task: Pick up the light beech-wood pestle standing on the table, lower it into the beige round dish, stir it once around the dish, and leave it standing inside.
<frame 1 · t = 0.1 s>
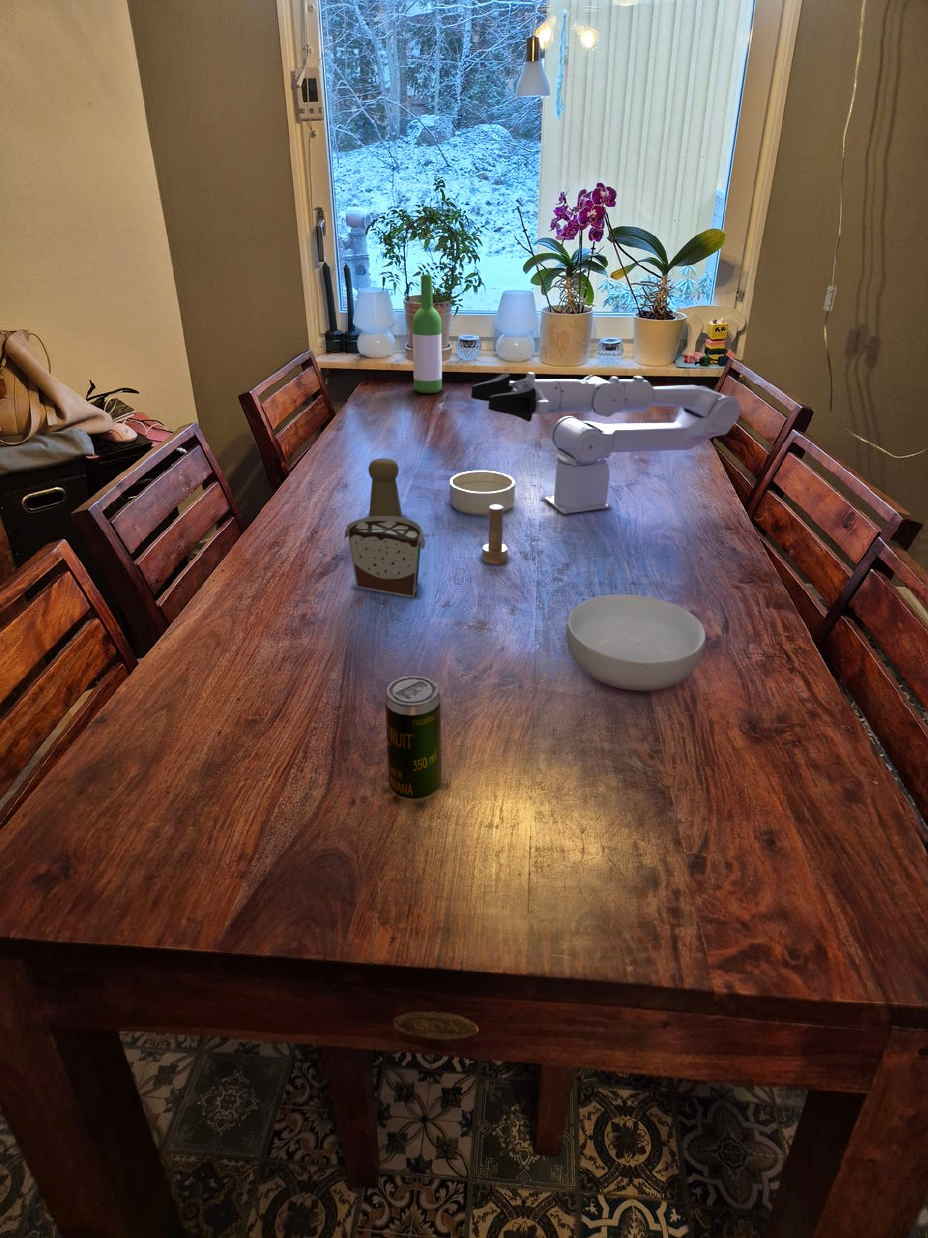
hand: (480, 397, 136), 22 cm above the table, tool horizontal, fingers open, 7 cm apart
green soda can: (415, 788, 84), on the table
cereal bowl: (629, 674, 103), on the table
wine bottle: (427, 391, 228), on the table
food container: (393, 585, 124), on the table
pestle: (494, 558, 132), on the table
cork: (385, 520, 146), on the table
beige round dish: (481, 504, 153), on the table
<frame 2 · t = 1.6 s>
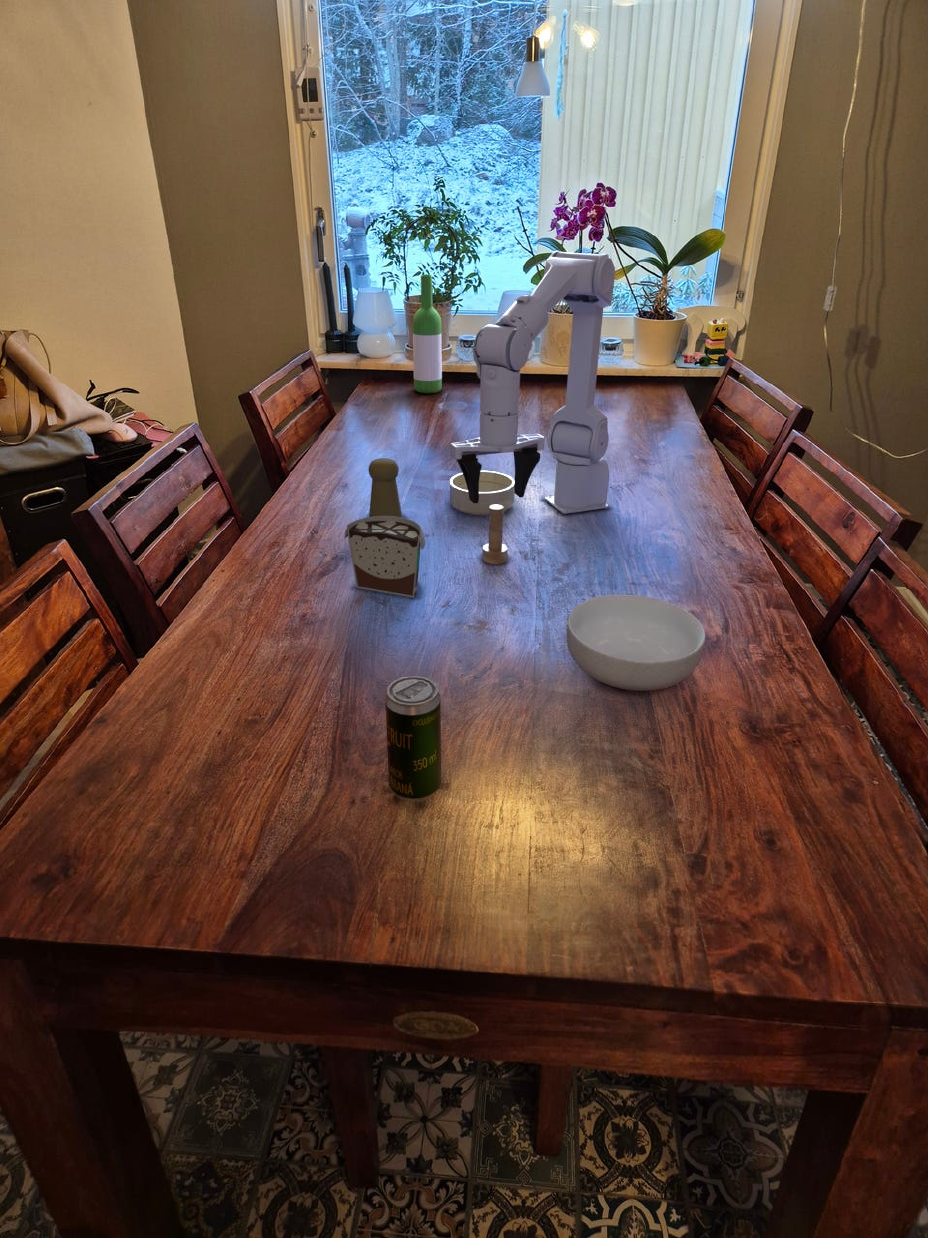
hand: (496, 498, 127), 10 cm above the table, tool pointing down, fingers open, 7 cm apart
nothing on the table moved.
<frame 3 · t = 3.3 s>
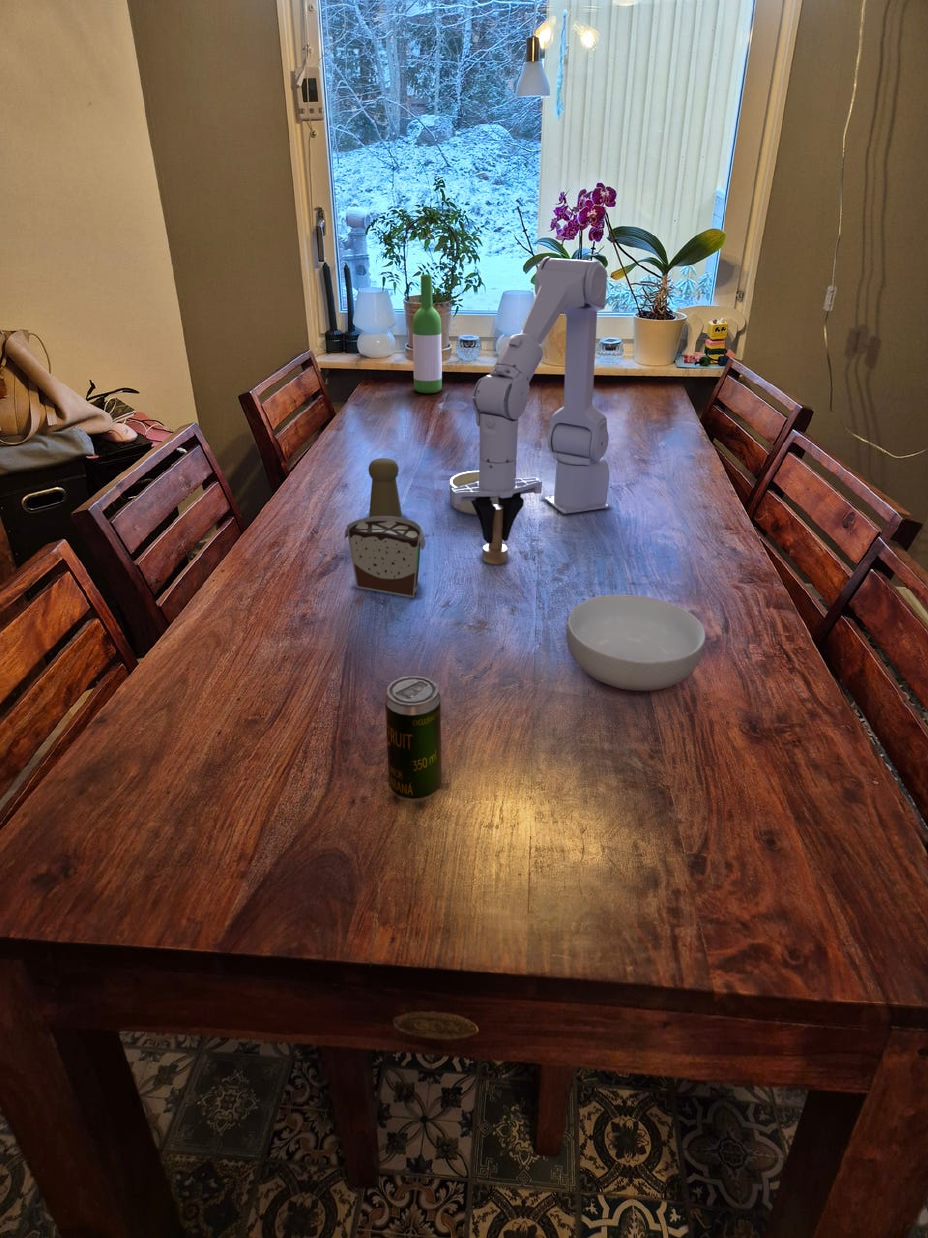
hand: (495, 539, 130), 3 cm above the table, tool pointing down, fingers closed on pestle, 2 cm apart
pestle: (494, 558, 132), on the table, touching gripper
everything else where it was.
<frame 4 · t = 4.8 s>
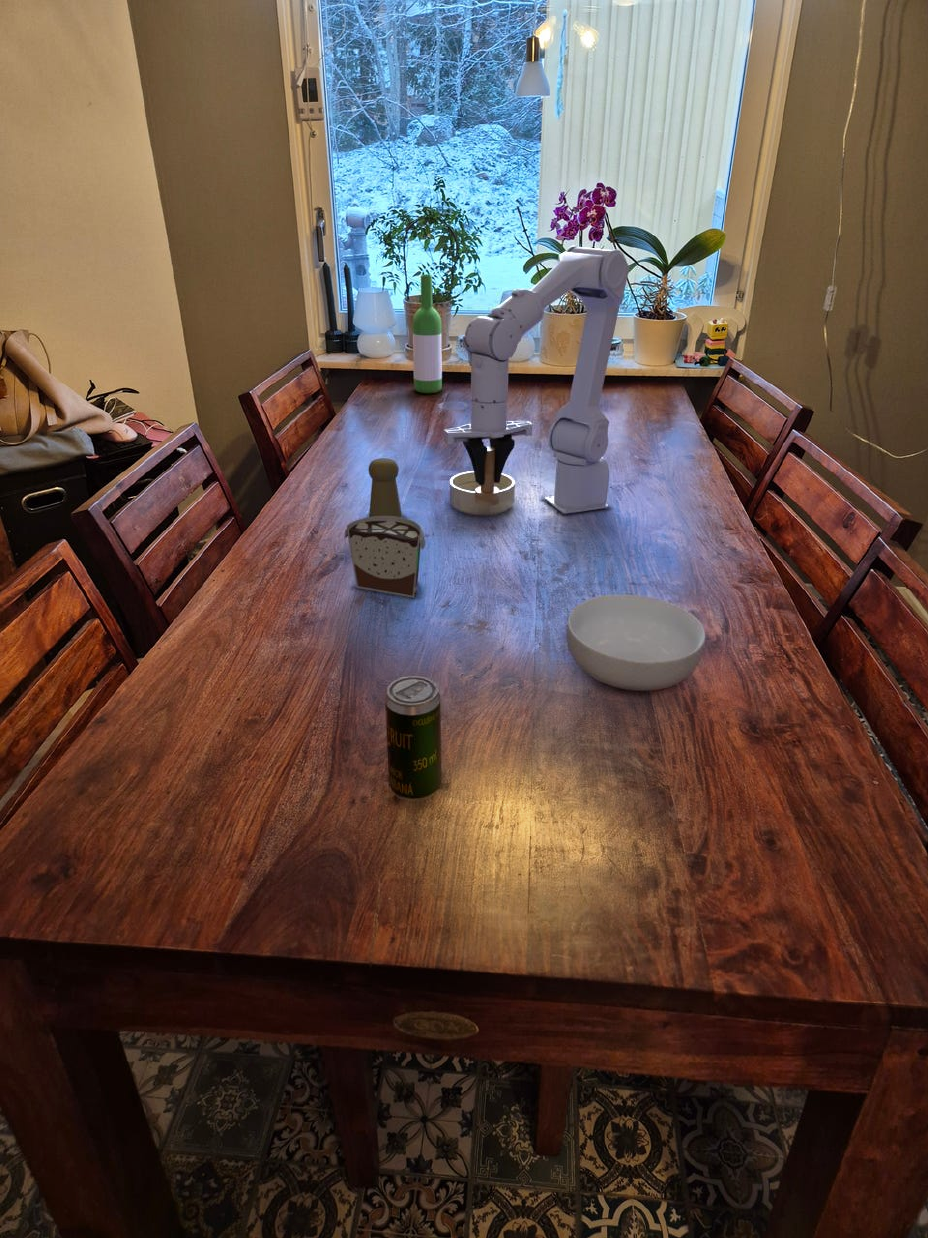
hand: (487, 481, 134), 10 cm above the table, tool pointing down, fingers closed on pestle, 2 cm apart
pestle: (487, 501, 135), point 7 cm above the table, touching gripper
everything else where it was.
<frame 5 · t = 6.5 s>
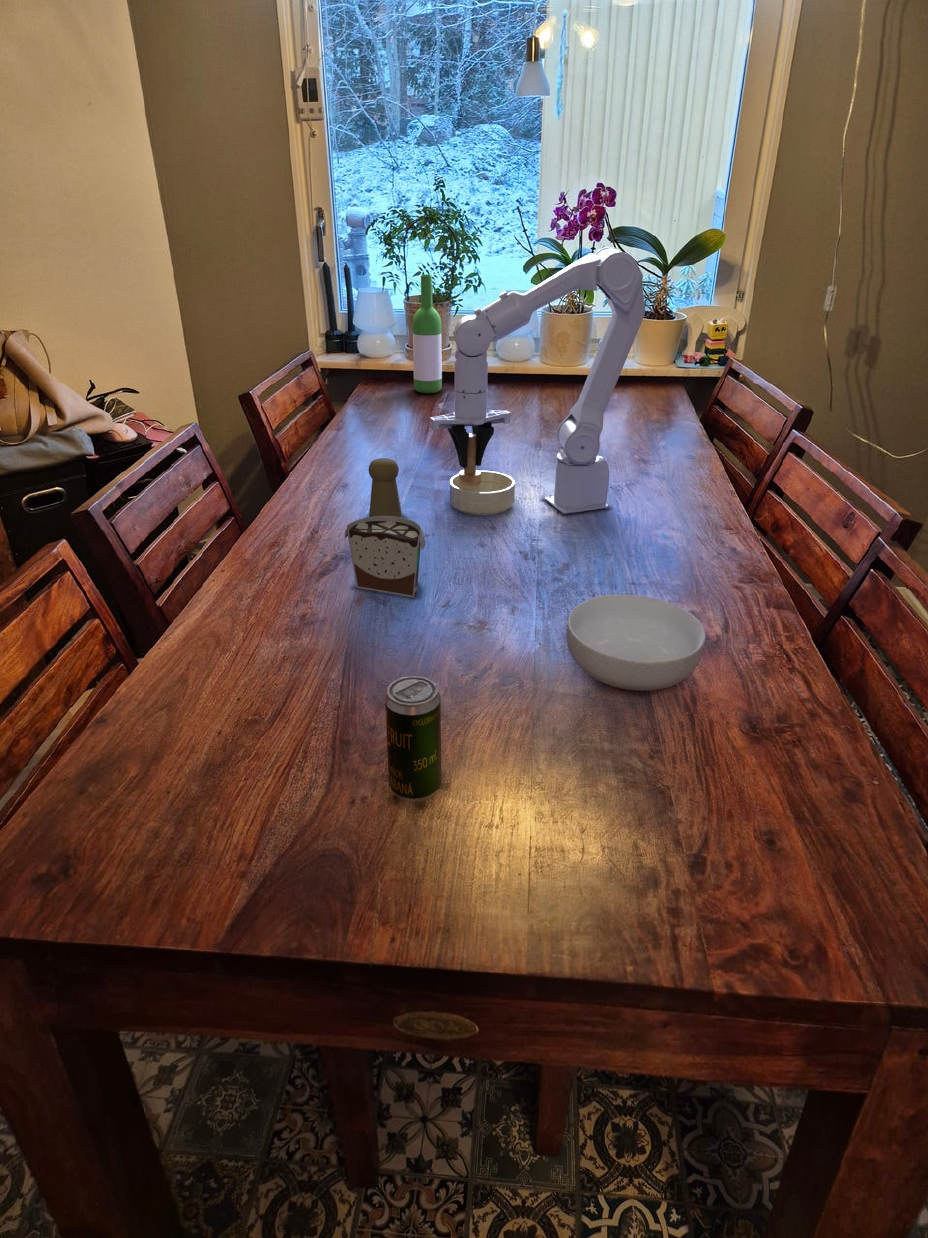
hand: (469, 465, 148), 8 cm above the table, tool pointing down, fingers closed on pestle, 2 cm apart
pestle: (469, 482, 150), point 5 cm above the table, touching gripper
everything else where it was.
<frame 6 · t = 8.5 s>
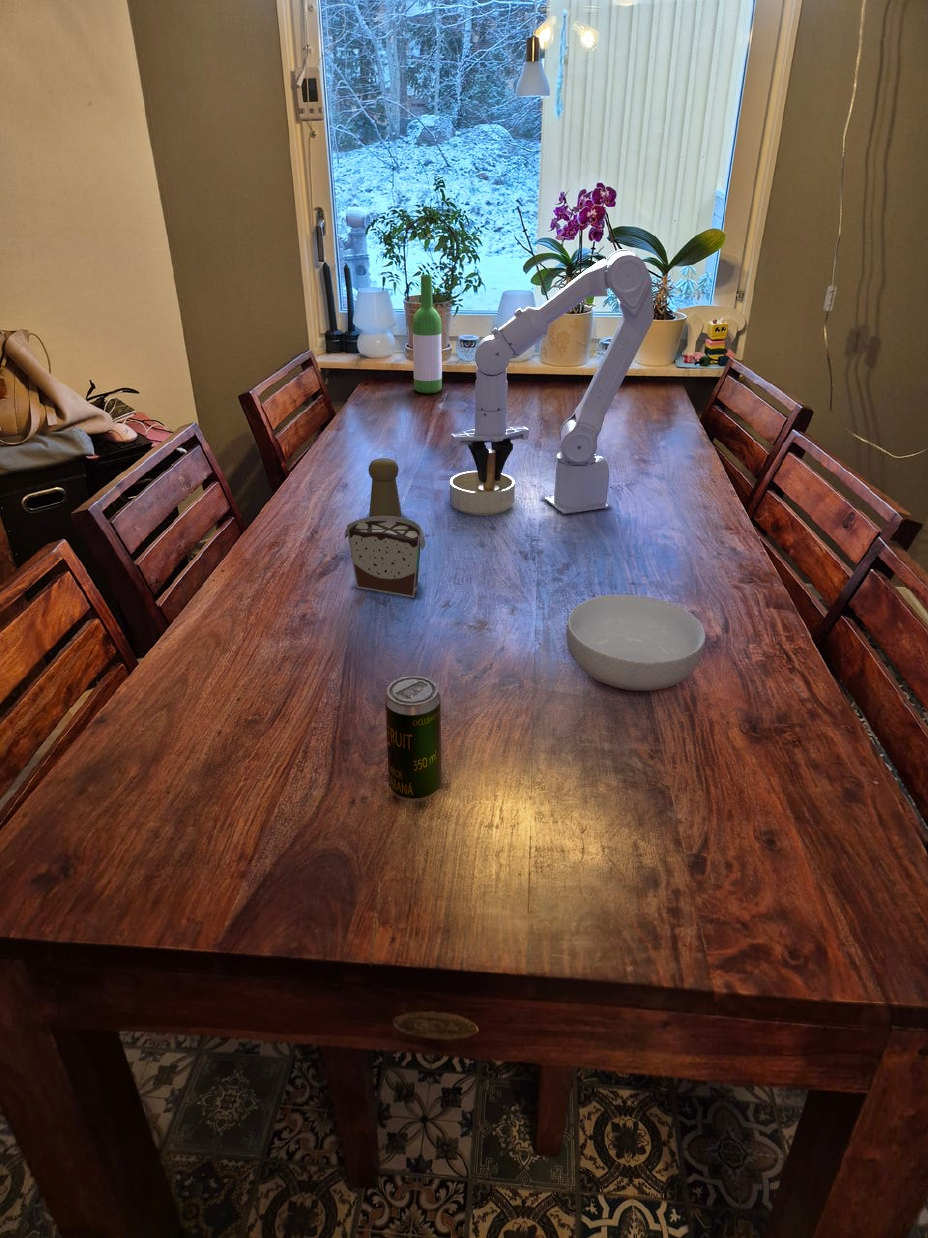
hand: (489, 480, 152), 4 cm above the table, tool pointing down, fingers closed on pestle, 2 cm apart
pestle: (488, 497, 154), point 1 cm above the table, touching gripper
everything else where it was.
when the fingers open (4 cm above the table, at t = 10.0 s): pestle stays where it is, resting on beige round dish.
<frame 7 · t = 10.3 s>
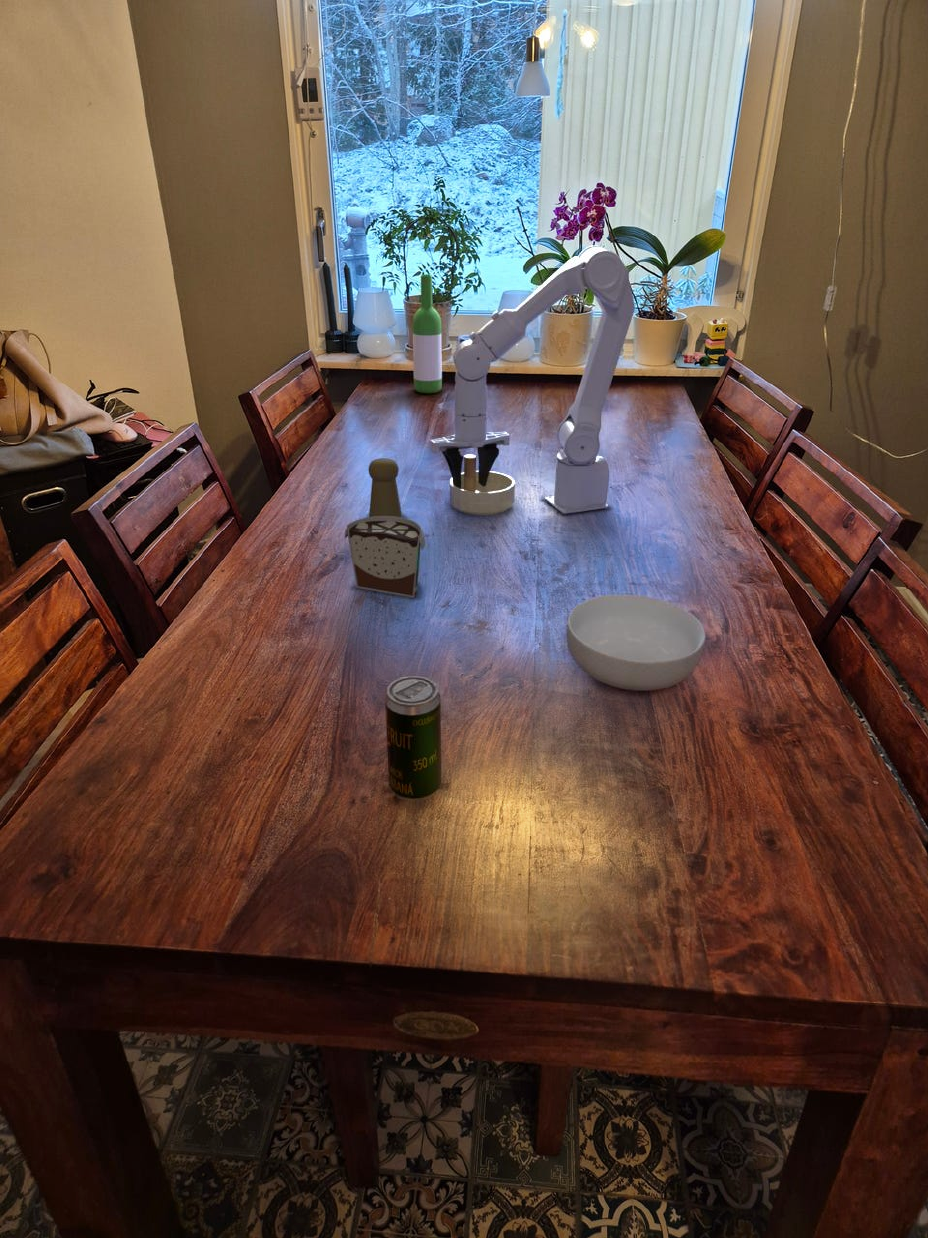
hand: (469, 486, 150), 4 cm above the table, tool pointing down, fingers open, 4 cm apart
pestle: (469, 502, 152), point 1 cm above the table, touching beige round dish
everything else where it was.
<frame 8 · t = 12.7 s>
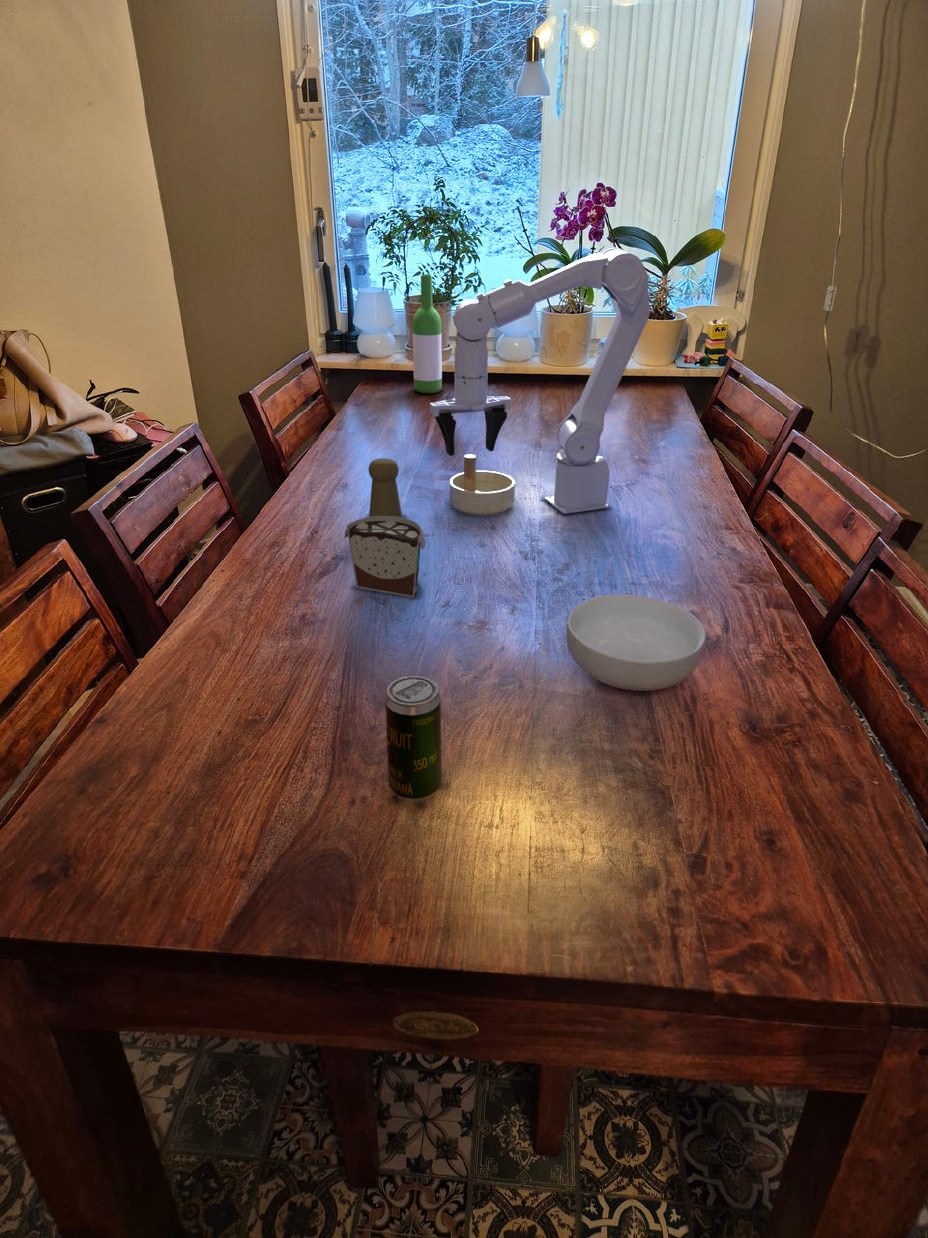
hand: (470, 451, 147), 10 cm above the table, tool pointing down, fingers open, 7 cm apart
nothing on the table moved.
at the end: pestle inside the target area in the beige round dish (2.5 cm from its centre), point 0.6 cm above the beige round dish's base; pestle tilted 0°; pestle moved 23.5 cm from its start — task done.
